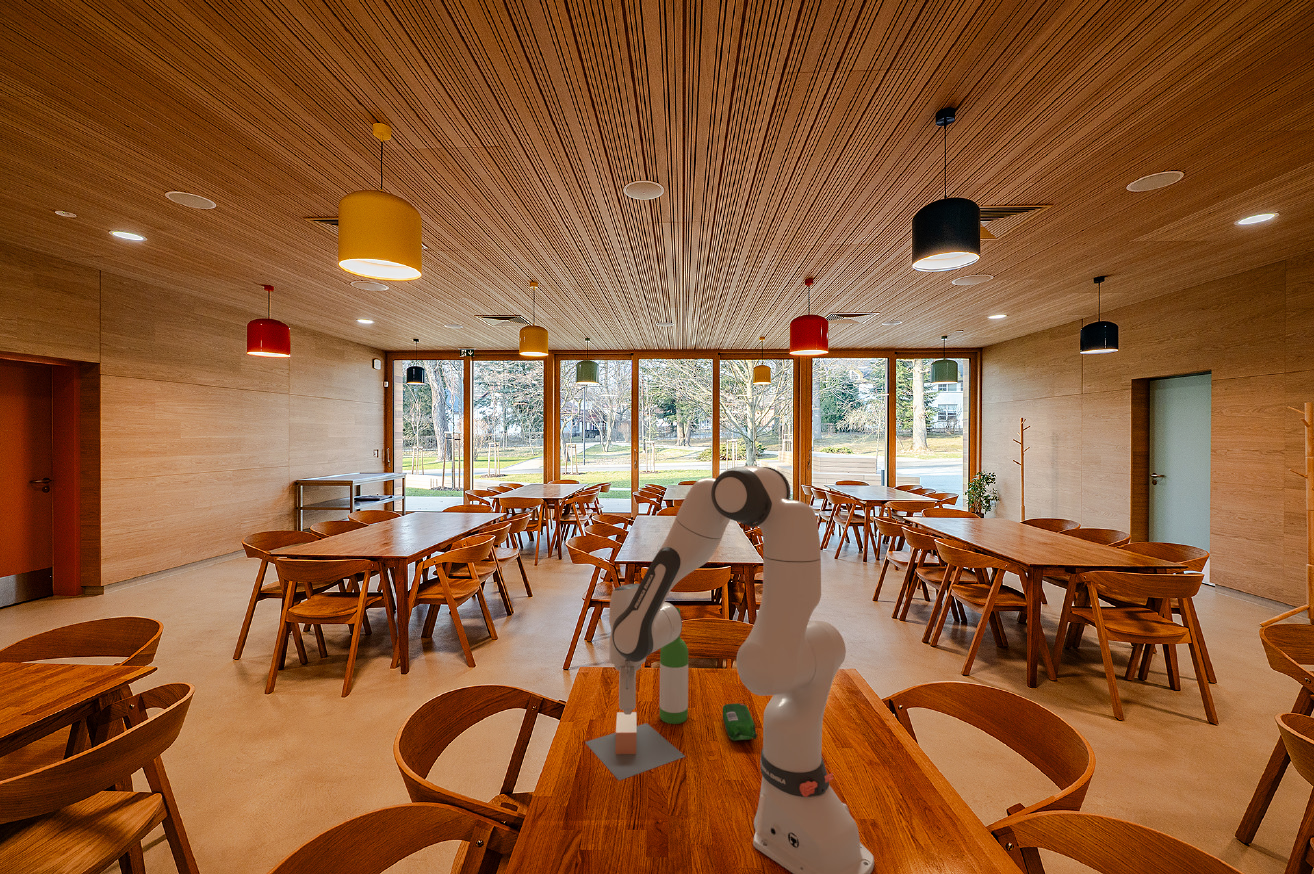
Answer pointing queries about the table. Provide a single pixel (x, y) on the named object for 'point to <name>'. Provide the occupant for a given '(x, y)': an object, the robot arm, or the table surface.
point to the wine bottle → (674, 682)
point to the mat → (648, 753)
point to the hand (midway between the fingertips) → (627, 711)
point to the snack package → (738, 722)
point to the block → (626, 733)
